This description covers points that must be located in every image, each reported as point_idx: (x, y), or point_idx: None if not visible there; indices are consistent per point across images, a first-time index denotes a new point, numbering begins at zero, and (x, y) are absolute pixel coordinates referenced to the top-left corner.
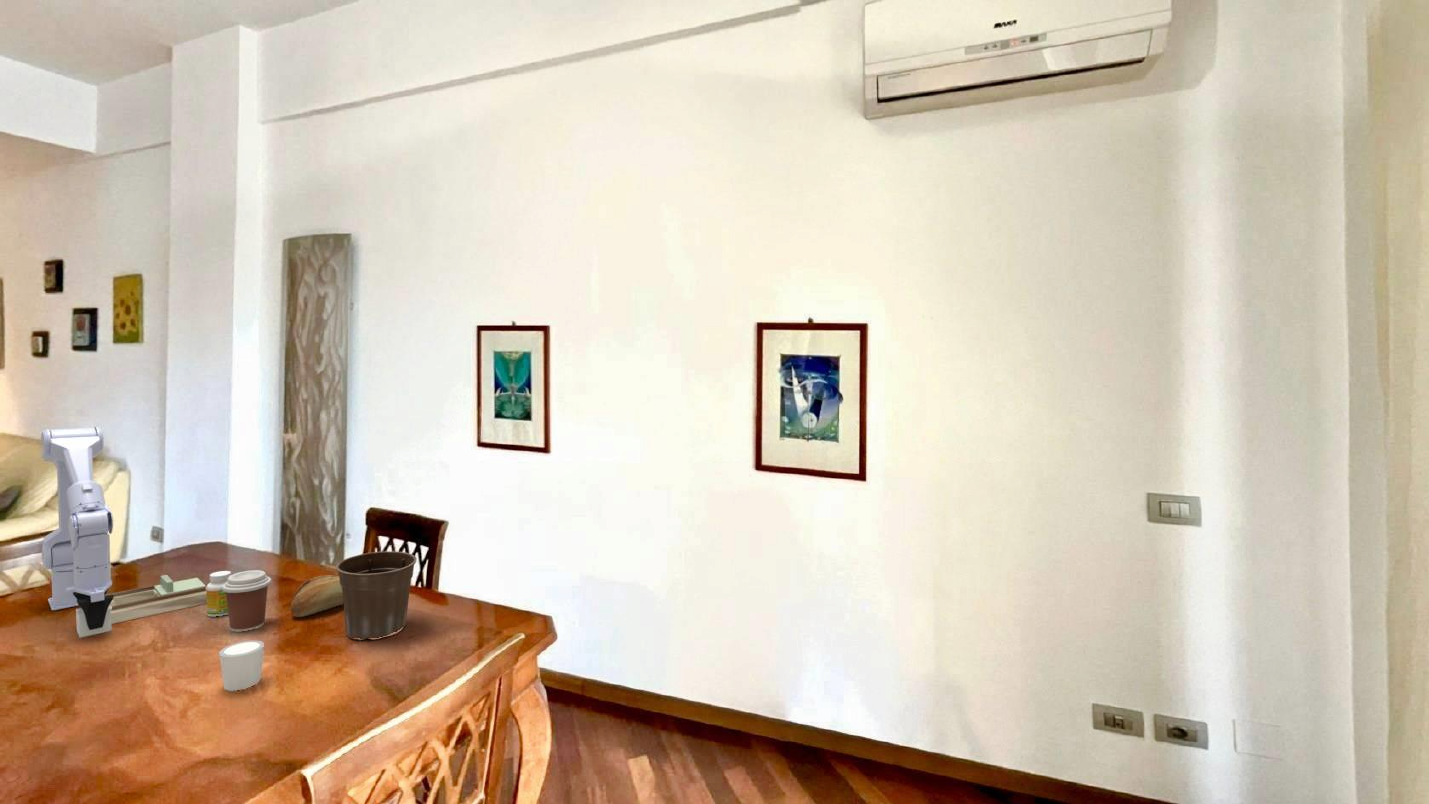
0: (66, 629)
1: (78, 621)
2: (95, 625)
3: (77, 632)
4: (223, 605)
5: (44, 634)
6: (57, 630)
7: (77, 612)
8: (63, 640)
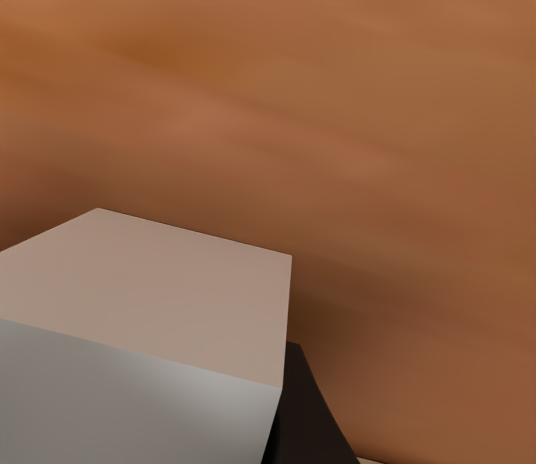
0: (415, 229)
1: (72, 268)
2: None
3: (237, 243)
4: None
5: (460, 81)
6: (463, 182)
7: (97, 338)
8: (140, 118)
